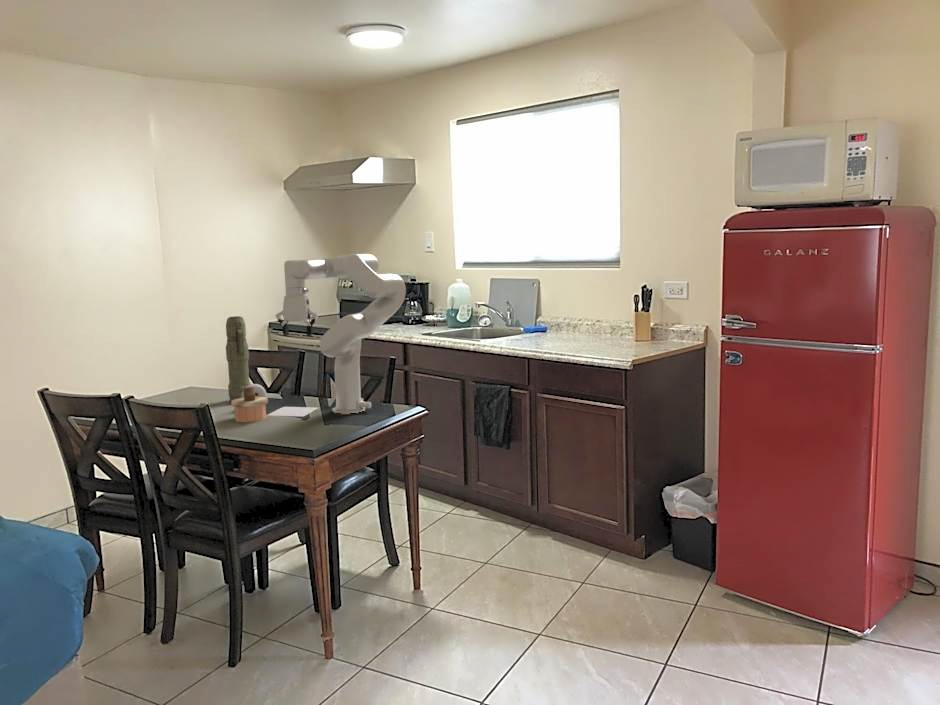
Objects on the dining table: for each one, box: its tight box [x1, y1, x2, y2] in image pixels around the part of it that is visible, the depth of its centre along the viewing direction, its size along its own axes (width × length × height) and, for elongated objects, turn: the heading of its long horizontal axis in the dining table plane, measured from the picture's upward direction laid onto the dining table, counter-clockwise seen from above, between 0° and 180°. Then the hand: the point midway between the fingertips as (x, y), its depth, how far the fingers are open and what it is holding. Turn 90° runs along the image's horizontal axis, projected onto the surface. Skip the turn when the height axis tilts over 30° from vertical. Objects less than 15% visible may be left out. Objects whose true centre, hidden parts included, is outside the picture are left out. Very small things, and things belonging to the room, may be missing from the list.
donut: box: [241, 383, 268, 398], centre depth 291 cm, size 10×4×10 cm, turn 125°
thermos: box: [225, 315, 252, 403], centre depth 304 cm, size 9×12×35 cm
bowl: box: [233, 404, 267, 423], centre depth 273 cm, size 11×11×6 cm
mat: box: [266, 406, 319, 418], centre depth 284 cm, size 15×15×1 cm
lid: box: [231, 387, 269, 408], centre depth 272 cm, size 13×13×6 cm
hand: (297, 335), depth 290 cm, fingers open, 9 cm apart
